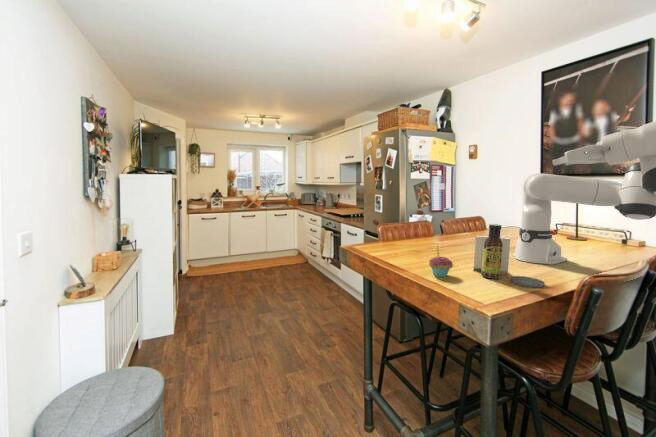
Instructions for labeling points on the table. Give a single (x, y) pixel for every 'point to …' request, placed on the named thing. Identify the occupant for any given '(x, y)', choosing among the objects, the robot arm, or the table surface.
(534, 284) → the slate mat
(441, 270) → the cupcake
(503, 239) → the letter plaque
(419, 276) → the table surface
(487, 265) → the sauce bottle
